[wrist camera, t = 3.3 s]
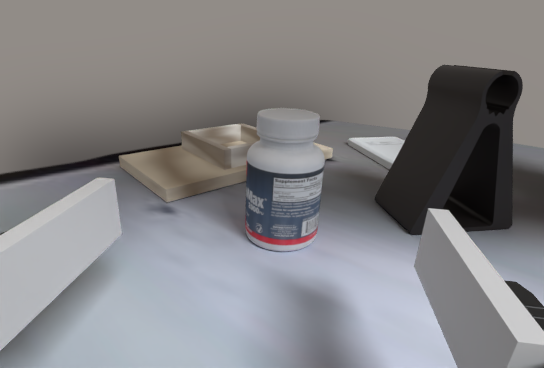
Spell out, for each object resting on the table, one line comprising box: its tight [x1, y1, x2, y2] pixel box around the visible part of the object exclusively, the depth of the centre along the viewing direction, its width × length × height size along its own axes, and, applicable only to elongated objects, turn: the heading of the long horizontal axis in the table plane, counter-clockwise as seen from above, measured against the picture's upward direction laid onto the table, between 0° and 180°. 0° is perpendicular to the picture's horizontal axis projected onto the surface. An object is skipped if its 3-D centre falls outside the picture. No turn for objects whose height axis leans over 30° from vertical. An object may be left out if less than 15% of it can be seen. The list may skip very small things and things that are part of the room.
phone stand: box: [375, 65, 522, 235], centre depth 27 cm, size 9×6×12 cm, turn 100°
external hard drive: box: [348, 137, 405, 170], centre depth 45 cm, size 2×8×12 cm
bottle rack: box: [119, 123, 333, 202], centre depth 39 cm, size 22×11×3 cm, turn 132°
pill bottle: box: [245, 108, 325, 252], centre depth 24 cm, size 5×5×9 cm
